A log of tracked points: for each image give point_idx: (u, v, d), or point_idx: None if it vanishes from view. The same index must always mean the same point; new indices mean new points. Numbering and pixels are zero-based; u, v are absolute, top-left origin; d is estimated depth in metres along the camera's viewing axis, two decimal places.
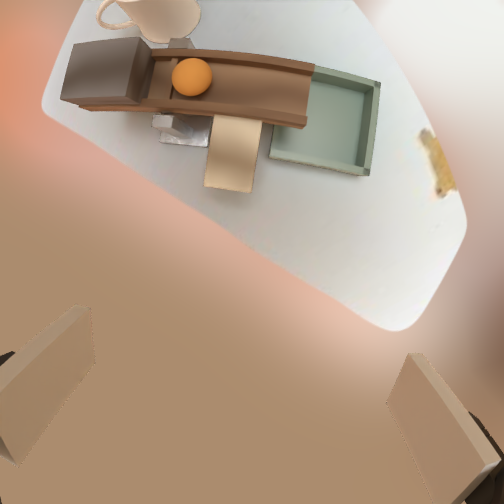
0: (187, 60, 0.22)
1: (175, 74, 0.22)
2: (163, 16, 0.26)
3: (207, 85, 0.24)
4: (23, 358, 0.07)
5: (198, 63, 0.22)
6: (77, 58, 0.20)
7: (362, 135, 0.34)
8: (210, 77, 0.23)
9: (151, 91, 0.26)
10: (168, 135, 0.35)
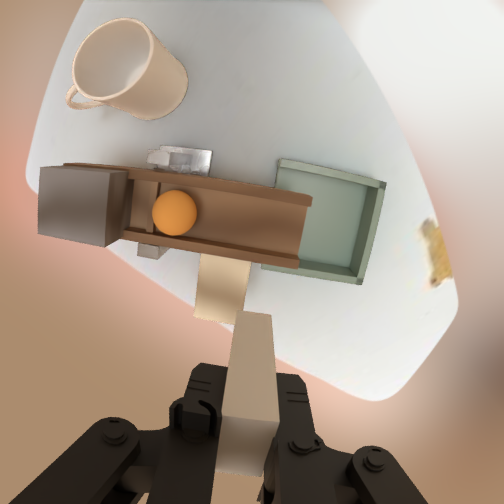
0: (167, 199, 0.22)
1: (155, 216, 0.23)
2: (141, 104, 0.26)
3: (191, 225, 0.24)
4: (242, 366, 0.09)
5: (179, 204, 0.22)
6: (47, 187, 0.20)
7: (360, 236, 0.34)
8: (194, 217, 0.24)
9: (133, 215, 0.26)
10: None
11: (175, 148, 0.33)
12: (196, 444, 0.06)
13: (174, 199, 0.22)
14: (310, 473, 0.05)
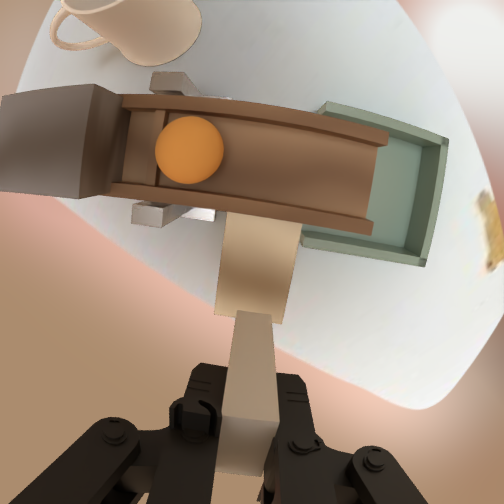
0: (180, 124, 0.14)
1: (160, 151, 0.14)
2: (145, 31, 0.17)
3: (216, 168, 0.15)
4: (242, 366, 0.09)
5: (199, 131, 0.14)
6: (7, 121, 0.12)
7: (418, 207, 0.25)
8: (221, 154, 0.15)
9: (127, 164, 0.17)
10: None
11: None
12: (196, 444, 0.06)
13: (191, 123, 0.14)
14: (310, 473, 0.05)
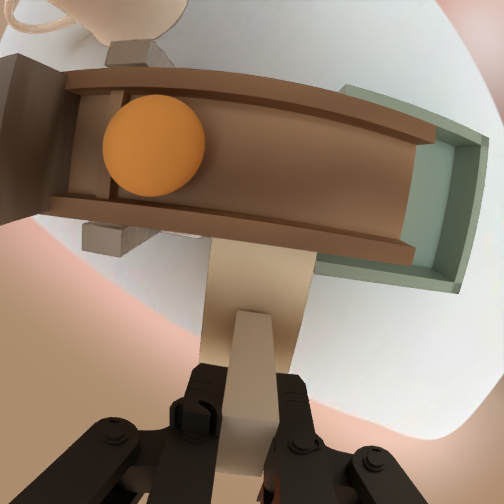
0: (136, 105, 0.08)
1: (107, 148, 0.09)
2: (112, 0, 0.12)
3: (193, 172, 0.10)
4: (242, 366, 0.09)
5: (165, 114, 0.08)
6: None
7: (452, 220, 0.20)
8: (200, 150, 0.10)
9: (74, 168, 0.12)
10: None
11: None
12: (196, 444, 0.06)
13: (153, 104, 0.08)
14: (310, 473, 0.05)
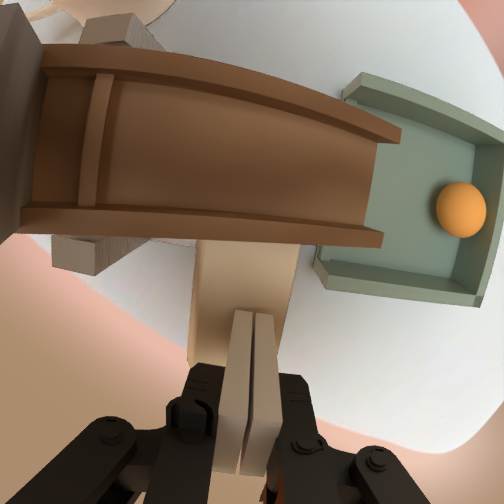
0: None
1: None
2: None
3: (458, 221, 0.15)
4: (239, 365, 0.09)
5: (446, 190, 0.16)
6: None
7: None
8: (458, 208, 0.15)
9: (40, 170, 0.08)
10: None
11: None
12: (193, 443, 0.06)
13: (447, 185, 0.16)
14: (313, 473, 0.05)
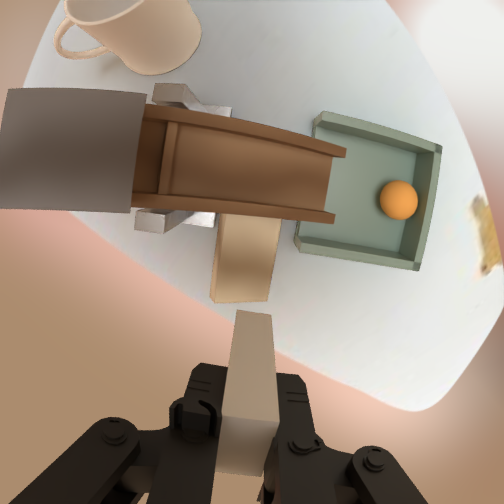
0: None
1: None
2: (147, 42, 0.18)
3: (391, 207, 0.24)
4: (242, 366, 0.09)
5: (385, 186, 0.25)
6: (19, 121, 0.10)
7: None
8: (391, 198, 0.24)
9: None
10: None
11: None
12: (196, 444, 0.06)
13: None
14: (310, 473, 0.05)
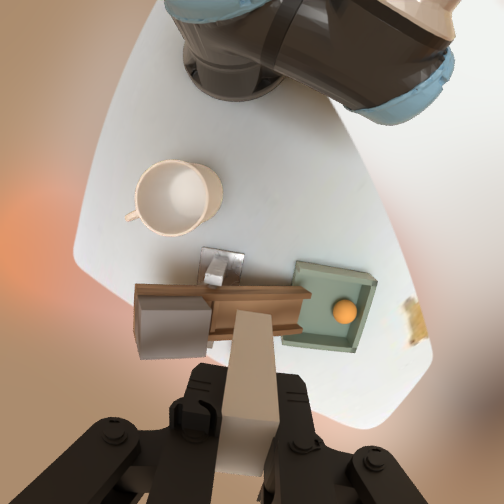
0: None
1: None
2: None
3: (337, 318, 0.43)
4: (242, 366, 0.09)
5: (336, 304, 0.44)
6: (151, 325, 0.28)
7: (355, 317, 0.44)
8: (337, 313, 0.43)
9: None
10: None
11: (214, 251, 0.43)
12: (196, 444, 0.06)
13: (339, 301, 0.44)
14: (310, 473, 0.05)
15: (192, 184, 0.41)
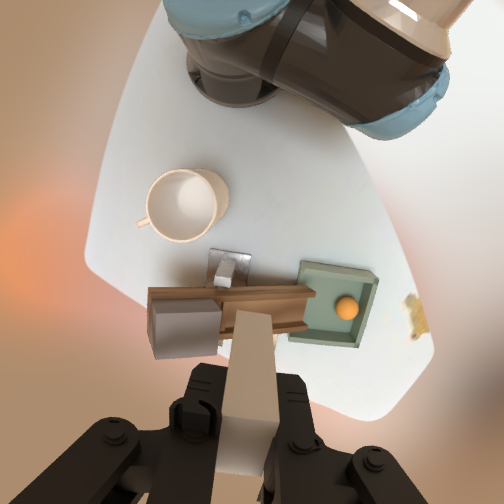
0: None
1: None
2: None
3: (339, 314, 0.45)
4: (242, 366, 0.09)
5: (339, 300, 0.46)
6: (165, 327, 0.30)
7: (358, 313, 0.46)
8: (339, 310, 0.45)
9: None
10: None
11: (222, 253, 0.45)
12: (196, 444, 0.06)
13: None
14: (310, 473, 0.05)
15: (199, 188, 0.43)
